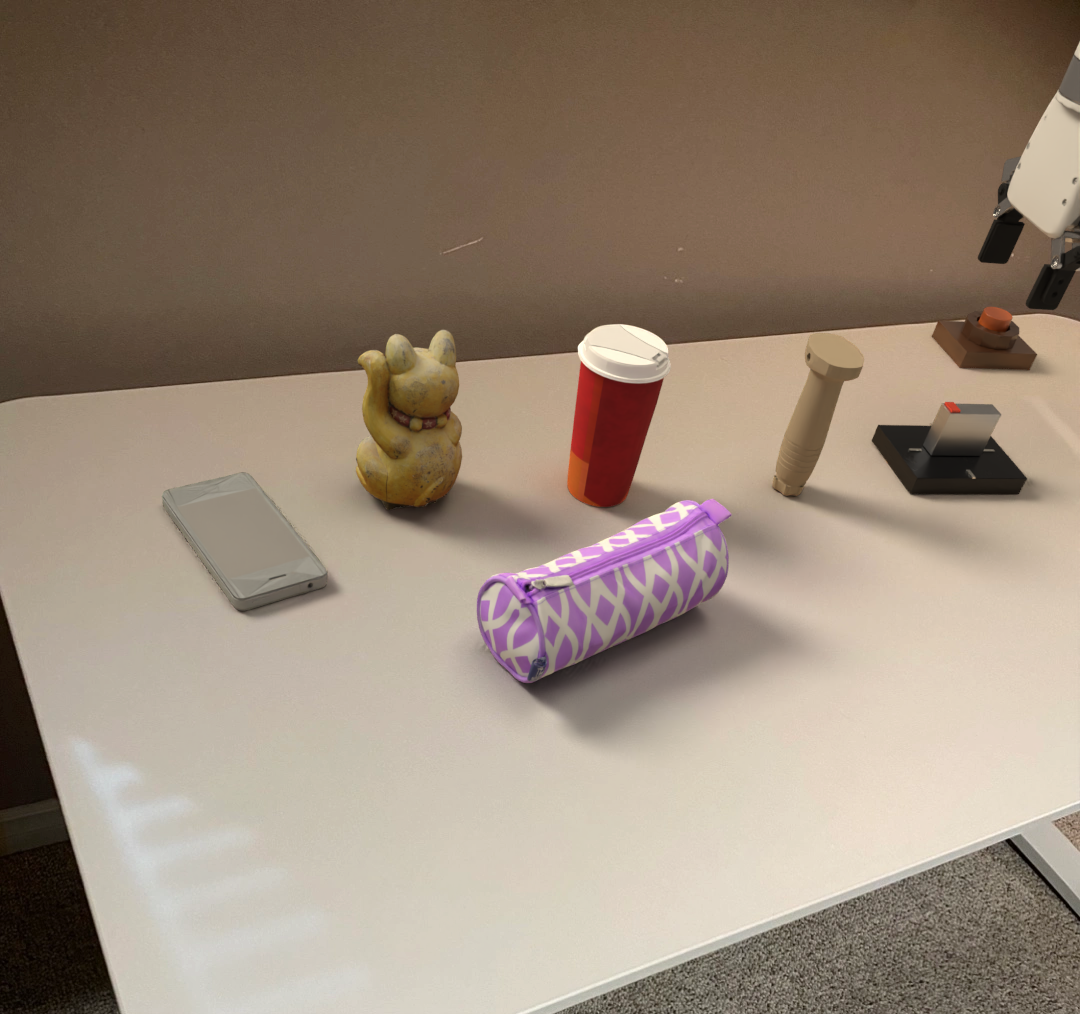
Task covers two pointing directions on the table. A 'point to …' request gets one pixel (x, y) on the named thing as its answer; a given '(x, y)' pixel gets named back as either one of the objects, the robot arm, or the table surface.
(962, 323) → the button block
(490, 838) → the table surface
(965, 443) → the tap handle
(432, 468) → the decorative figurine
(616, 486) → the coffee cup
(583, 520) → the table surface
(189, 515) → the phone
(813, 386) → the handle
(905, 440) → the base
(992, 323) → the button
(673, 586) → the pencil case
